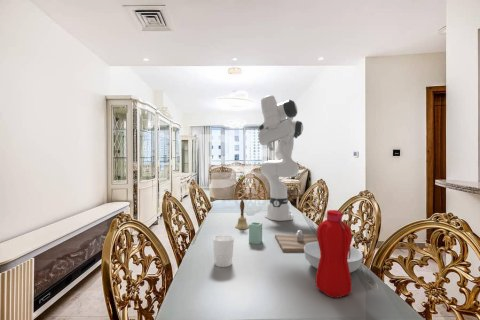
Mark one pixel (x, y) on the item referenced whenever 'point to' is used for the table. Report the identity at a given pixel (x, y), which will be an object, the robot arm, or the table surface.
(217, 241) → the white cup
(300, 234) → the post
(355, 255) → the serving bowl
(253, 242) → the sleeve
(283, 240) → the board
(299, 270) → the table surface
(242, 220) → the hand bell
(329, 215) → the water bottle
